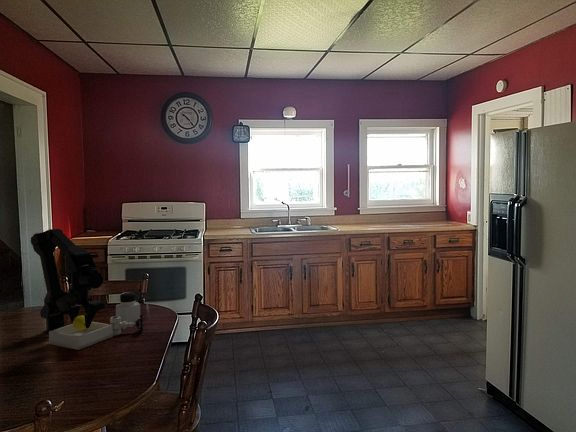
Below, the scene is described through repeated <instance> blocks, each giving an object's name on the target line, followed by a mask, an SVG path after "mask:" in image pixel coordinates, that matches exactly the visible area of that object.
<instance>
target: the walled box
mask: <svg viewBox="0 0 576 432" xmlns="http://www.w3.org/2000/svg"><path fill="white" fill-rule="evenodd" d="M113 337H114V336H113V326H112V325H110V323H103V322H96V321H92V323H91V325H90V327H89V328H86V329H84V330H77V329H75V328H74V326H73V324H72V323H71V324H68V325H65V326H64V327H61V328H58V329H55V330H52V331H49V333H48V342H49V343H48V344H49V345H53V346H57V347H63V348H68V349H71V350H77V351H80V350H82V349H86V348H88V347H91V346H93V345H95V344H98V343H100V342H102V341H105V340H106V341H107V339H111V338H113Z"/></svg>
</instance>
